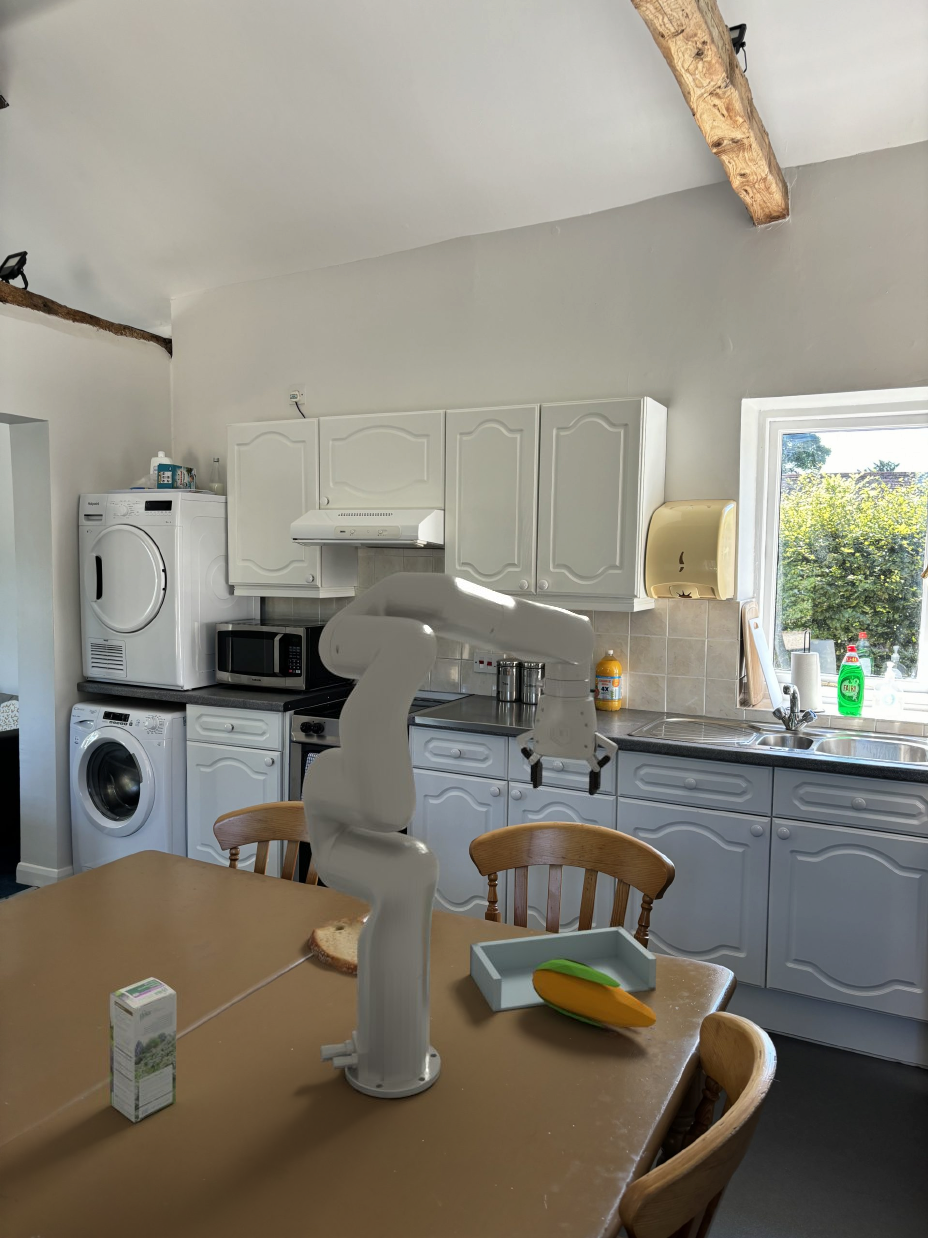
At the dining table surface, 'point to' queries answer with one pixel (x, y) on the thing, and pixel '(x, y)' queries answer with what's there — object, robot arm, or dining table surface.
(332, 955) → the slice of bread
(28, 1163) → the dining table surface
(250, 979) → the dining table surface
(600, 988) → the corn
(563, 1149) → the dining table surface
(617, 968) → the tray
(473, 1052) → the dining table surface
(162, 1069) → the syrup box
